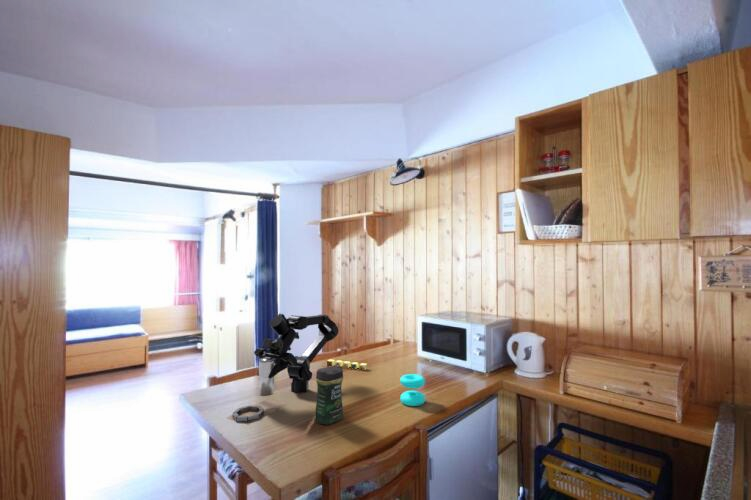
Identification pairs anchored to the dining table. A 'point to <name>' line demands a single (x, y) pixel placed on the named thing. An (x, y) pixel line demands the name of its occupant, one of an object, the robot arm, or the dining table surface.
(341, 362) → the yellow segmented block row
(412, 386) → the donuts
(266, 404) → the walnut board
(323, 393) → the coffee jar
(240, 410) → the ring collar
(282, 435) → the dining table surface
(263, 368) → the cylinder
